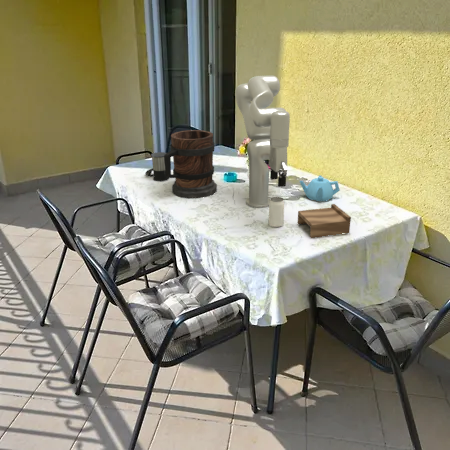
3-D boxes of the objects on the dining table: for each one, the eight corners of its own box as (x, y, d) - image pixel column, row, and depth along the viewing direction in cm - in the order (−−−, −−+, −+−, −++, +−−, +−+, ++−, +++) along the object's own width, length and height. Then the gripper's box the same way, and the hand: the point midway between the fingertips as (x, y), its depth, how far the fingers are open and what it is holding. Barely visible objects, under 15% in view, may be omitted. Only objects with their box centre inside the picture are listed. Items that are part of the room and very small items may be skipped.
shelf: (297, 223, 190) (298, 207, 187) (332, 219, 193) (334, 204, 190) (311, 238, 176) (312, 221, 173) (349, 233, 180) (350, 217, 177)
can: (273, 220, 193) (274, 195, 188) (286, 223, 189) (287, 198, 184) (265, 225, 189) (266, 199, 184) (278, 228, 185) (279, 203, 180)
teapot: (318, 205, 209) (320, 184, 204) (297, 196, 220) (298, 176, 216) (340, 198, 216) (342, 178, 212) (319, 190, 228) (320, 170, 223)
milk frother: (166, 182, 243) (164, 156, 237) (140, 181, 246) (137, 155, 240) (173, 174, 256) (171, 149, 250) (148, 173, 259) (145, 149, 252)
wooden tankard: (225, 190, 230) (225, 134, 217) (183, 205, 211) (179, 145, 199) (196, 180, 245) (194, 127, 233) (154, 193, 227) (149, 137, 214)
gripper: (263, 138, 181) (263, 177, 188) (277, 148, 165) (276, 190, 172) (280, 137, 182) (279, 175, 189) (295, 146, 167) (293, 188, 174)
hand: (277, 182), depth 181 cm, fingers open, 9 cm apart
